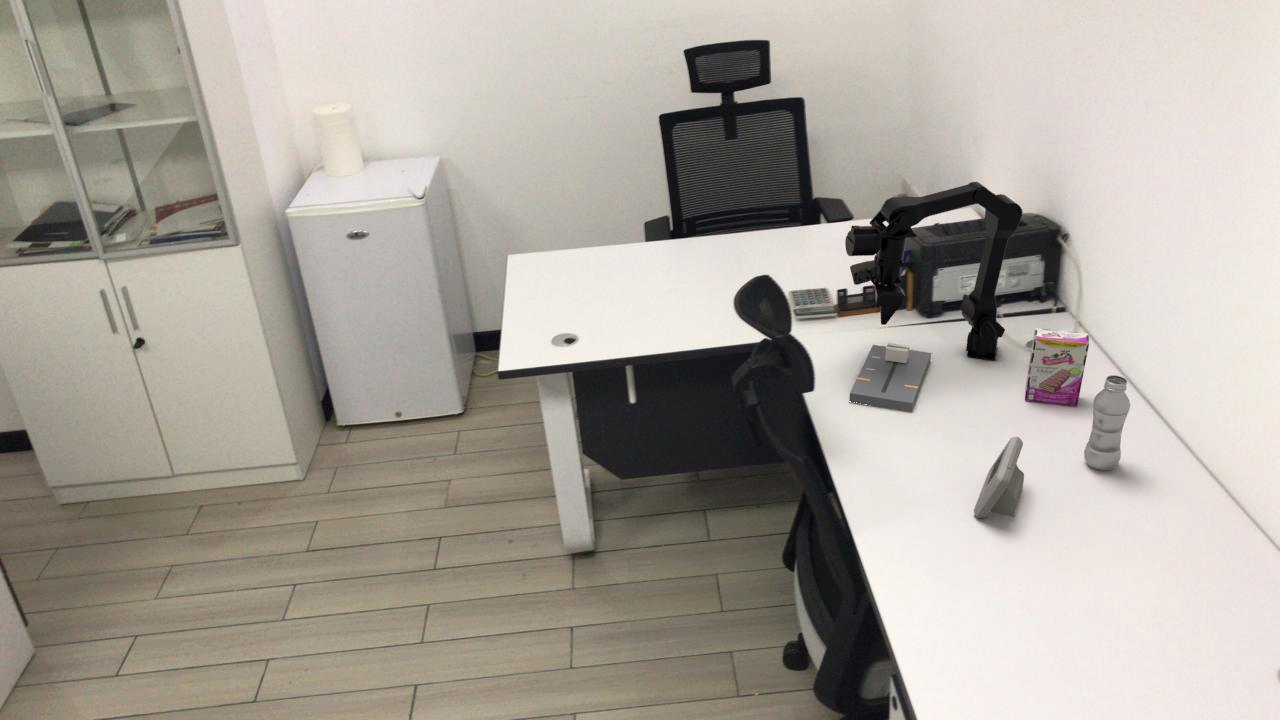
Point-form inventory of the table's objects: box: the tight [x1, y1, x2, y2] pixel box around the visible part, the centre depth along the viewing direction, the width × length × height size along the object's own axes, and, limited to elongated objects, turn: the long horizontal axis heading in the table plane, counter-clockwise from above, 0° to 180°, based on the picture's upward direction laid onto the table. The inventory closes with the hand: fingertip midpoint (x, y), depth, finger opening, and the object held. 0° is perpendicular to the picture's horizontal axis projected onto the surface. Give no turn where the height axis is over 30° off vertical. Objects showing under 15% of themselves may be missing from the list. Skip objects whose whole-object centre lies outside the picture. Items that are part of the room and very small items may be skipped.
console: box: [848, 344, 932, 413], centre depth 234 cm, size 14×24×2 cm, turn 156°
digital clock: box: [973, 436, 1025, 519], centre depth 192 cm, size 16×9×11 cm, turn 140°
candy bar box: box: [1024, 327, 1090, 407], centre depth 220 cm, size 11×5×16 cm, turn 71°
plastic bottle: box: [1083, 374, 1131, 471], centre depth 197 cm, size 6×7×20 cm
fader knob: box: [885, 342, 910, 363], centre depth 237 cm, size 5×3×3 cm, turn 66°
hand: (880, 315), depth 235 cm, fingers open, 9 cm apart
